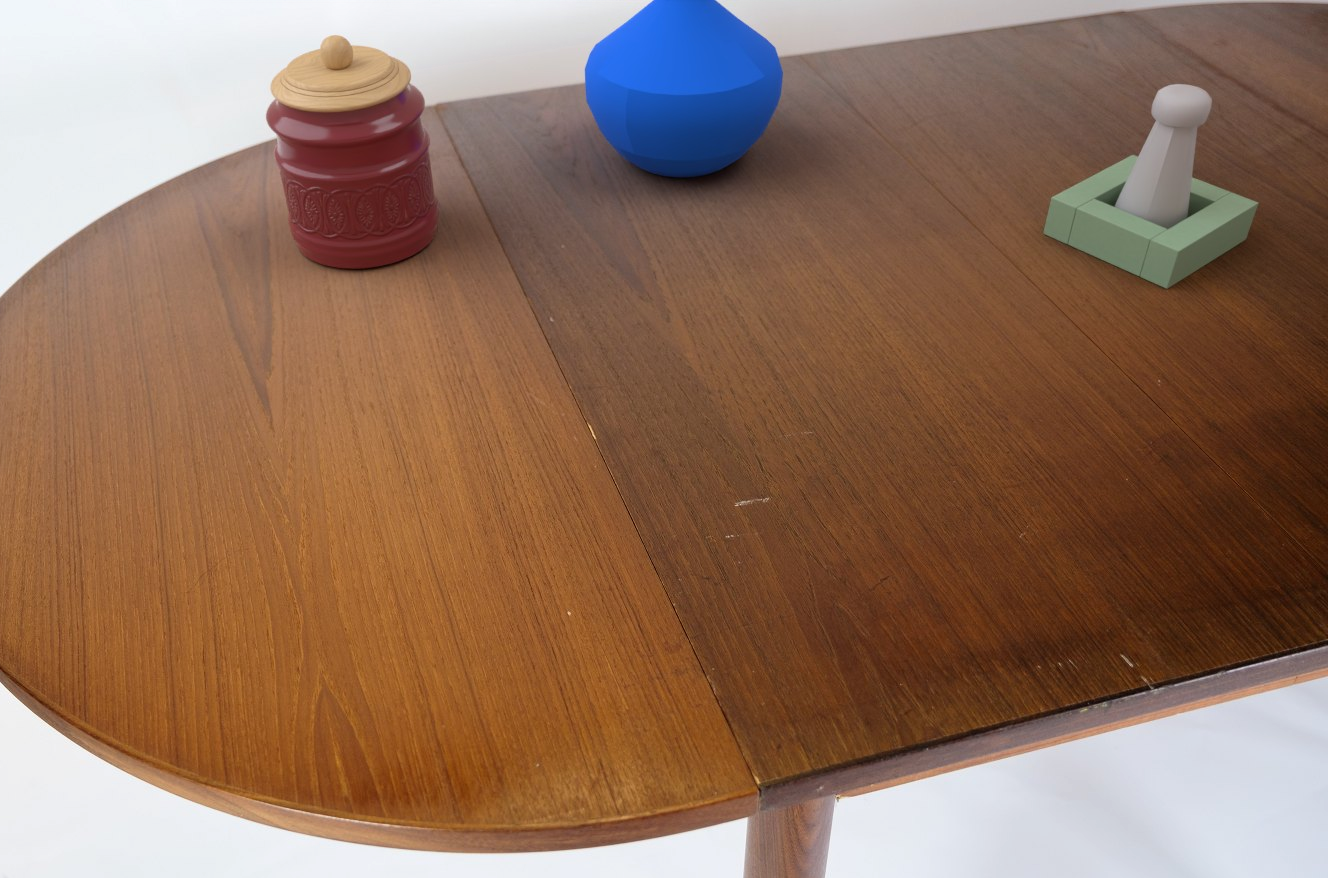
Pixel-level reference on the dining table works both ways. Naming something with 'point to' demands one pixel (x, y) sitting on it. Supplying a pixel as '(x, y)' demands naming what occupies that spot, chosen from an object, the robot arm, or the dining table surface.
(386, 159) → the kitchen canister
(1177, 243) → the pad socket
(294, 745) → the dining table surface
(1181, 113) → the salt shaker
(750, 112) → the vase
